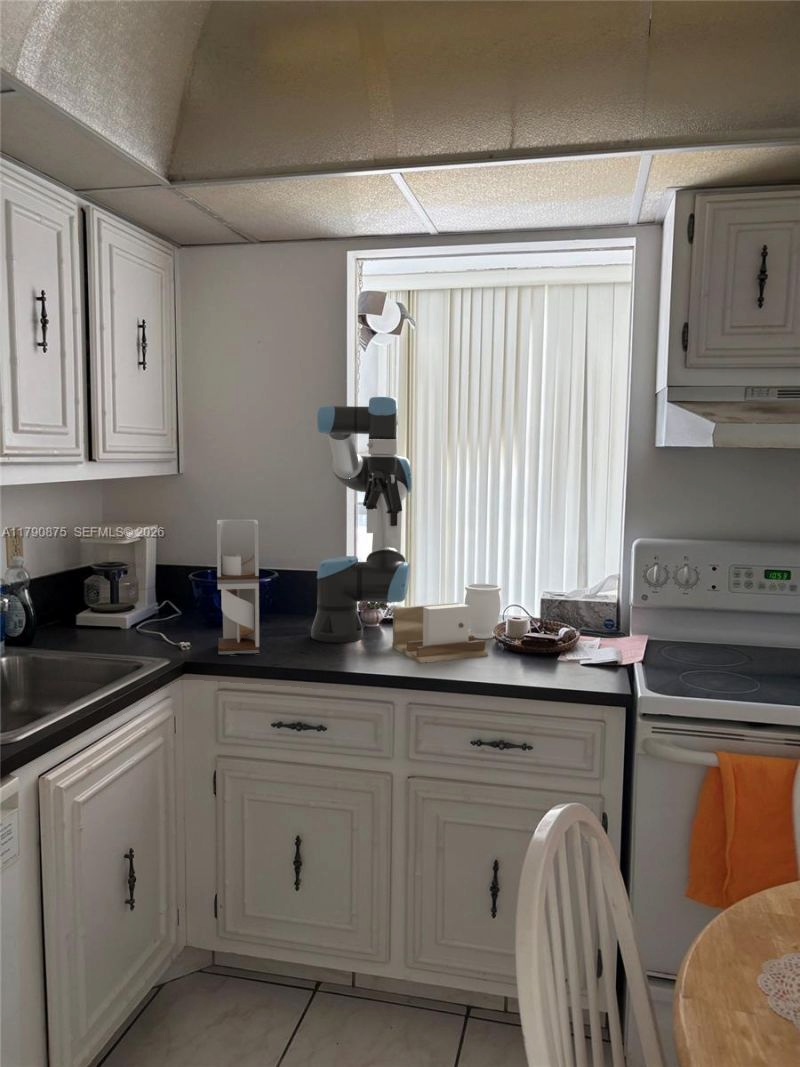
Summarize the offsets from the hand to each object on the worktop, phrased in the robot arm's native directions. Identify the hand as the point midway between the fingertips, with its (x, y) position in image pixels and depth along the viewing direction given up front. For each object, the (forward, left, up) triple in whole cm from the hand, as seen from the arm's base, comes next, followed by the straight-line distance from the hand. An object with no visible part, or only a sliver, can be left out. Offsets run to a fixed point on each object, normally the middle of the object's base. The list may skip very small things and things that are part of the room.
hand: (381, 535), depth 214 cm
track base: (+6, +15, -32) cm, 36 cm away
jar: (-5, +35, -32) cm, 48 cm away
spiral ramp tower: (-16, -35, -32) cm, 50 cm away
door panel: (+10, +15, -30) cm, 35 cm away
